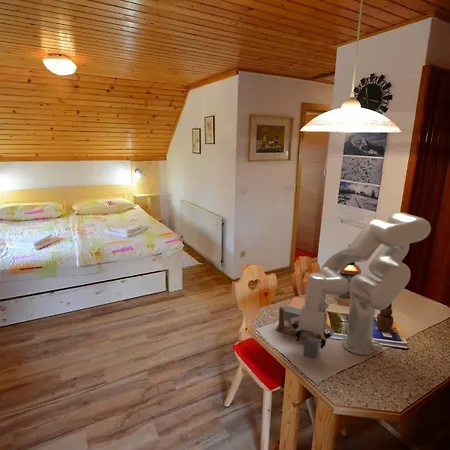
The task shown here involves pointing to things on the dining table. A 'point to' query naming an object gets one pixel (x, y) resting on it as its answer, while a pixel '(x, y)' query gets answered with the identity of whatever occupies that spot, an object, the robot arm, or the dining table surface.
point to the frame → (292, 330)
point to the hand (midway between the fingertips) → (309, 343)
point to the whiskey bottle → (348, 273)
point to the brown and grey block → (293, 309)
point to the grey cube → (311, 347)
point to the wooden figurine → (385, 319)
